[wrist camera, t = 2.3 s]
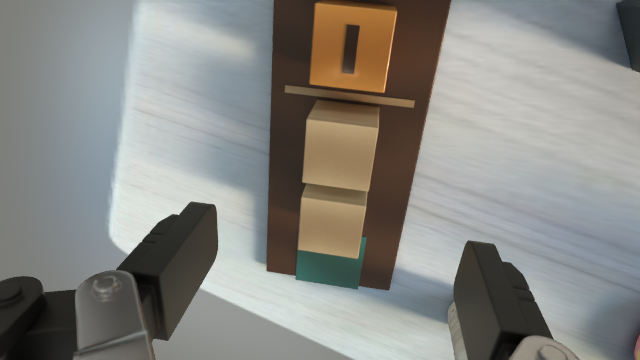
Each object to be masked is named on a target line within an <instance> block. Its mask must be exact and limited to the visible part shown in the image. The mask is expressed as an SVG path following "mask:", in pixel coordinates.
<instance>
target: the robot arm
mask: <svg viewBox="0 0 640 360" xmlns="http://www.w3.org/2000/svg"><path fill="white" fill-rule="evenodd" d="M217 251H218V231H217V212H216V207H215V205H213V204H206V203H199V202H190V203H189V204H188V205H187V206H186V207H185V209H184V210H183V211H182V212H181V213H180V215H175V214H172V215H170V216H169V217H167V218H165V219H163V220H162V221H160V222H158V223H157V225H156V226H155V227H154V228H153V229H152V230H151V231H150V234H148V235H147V236H146V237H145V238H144V239H143V240H142V242H140V243H139V245H138V246H137V247H136V248H135V249H134V250H133V251H132V252H131V253H130V254H129V256H128V257H127V258H126V259H125V260H124V261H123V262H122V263H121V265H120V266H119V267H118V268H117V269H116V270H112V271H106V272H102V273H99V274H96V275H94V276H92V277H90V278H88V279H87V280H85V281H84V282H83V283H82V284H81V285H80V286H79V287H78V289H76V290H66V291H55V292H44V290H43V286H42V284H41V282H40V281H39V280H38V279H36V278H33V277H27V276H26V277H25V276H22V277H14V278H9V279H6V280H3V281H0V360H156V359H155V355H154V351H153V347H152V341H153V339H160V340H166V341H168V340H169V338H170V337H171V335H172V333H173V332H174V330H175V328H176V326H177V324H178V323H179V321H180V320H181V318H182V316H183V315H184V313H185V311H186V309H187V308H188V306H189V304H190V303H191V301H192V299H193V297H194V296H195V294H196V292H197V291H198V289H199V287H200V285H201V284H202V282H203V280H204V279H205V277H206V275H207V273H208V272H209V270H210V268H211V267H212V265H213V263H214V261H215V258H216V255H217ZM534 300H535V299H534V297H533V295H532V293H531V291H529V286H528V284H527V282H526V280H525V278H524V276H523V274H522V273H521V272H520V271H519V270H518V269H517V268H516V267H514V266H513V265H512V264H511V263H509V262H502V260H501V258H500V255H499V253H498V251H497V248H496V246H495V245H494V244H491V243H484V242H476V241H467V243H466V245H465V247H464V251H463V254H462V257H461V261H460V264H459V267H458V271H457V274H456V277H455V282H454V301H455V306H456V310H457V315H458V319H459V323H460V328H461V332H462V337H463V341H464V346H465V350H466V354H467V359H468V360H579V358H578V357H577V356H576V355H575V354H574V353H573V352H572V351H571V350H570V349H568V348H567V347H566V346H564V345H563V344H561V343H559V342H557V341H555V340H554V339H553V337H552V335H551V333H550V330H549V328H548V326H547V324H546V322H545V320H544V318H543V316H542V314H541V311H540V309H539V307H538V305H537V303H536V302H535V301H534Z"/></svg>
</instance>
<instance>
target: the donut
mask: <svg viewBox="0 0 640 360" xmlns="http://www.w3.org/2000/svg"><path fill="white" fill-rule="evenodd" d="M635 360H640V335H639V337H638V339H637V342H636V346H635Z"/></svg>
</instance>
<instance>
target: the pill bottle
mask: <svg viewBox="0 0 640 360" xmlns="http://www.w3.org/2000/svg"><path fill="white" fill-rule="evenodd" d="M447 318H448V323H449V328H450V334H451V339H452V344H453V349H454V355H455V360H468V359H467V354H466V350H465V346H464V341H463V337H462V332H461V328H460V323H459V319H458V315H457V310H456V306H455V301H454V302H453V303H452V304H451V305H450V307H449V309H448V313H447Z"/></svg>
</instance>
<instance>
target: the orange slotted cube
mask: <svg viewBox="0 0 640 360" xmlns="http://www.w3.org/2000/svg"><path fill="white" fill-rule="evenodd" d="M396 17H397V11H396V8H395V6H394V5H384V4H374V3H364V2H354V1H344V0H322V1H320V2H317V3H315V8H314V22H313V36H312V51H311V65H310V79H309V83H310V84H311V85H320V86H328V87H337V88H345V89H353V90H362V91H370V92H379V93H384V92H385V86H386V80H387V73H388V67H389V61H390V54H391V48H392V42H393V36H394V29H395V23H396Z"/></svg>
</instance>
